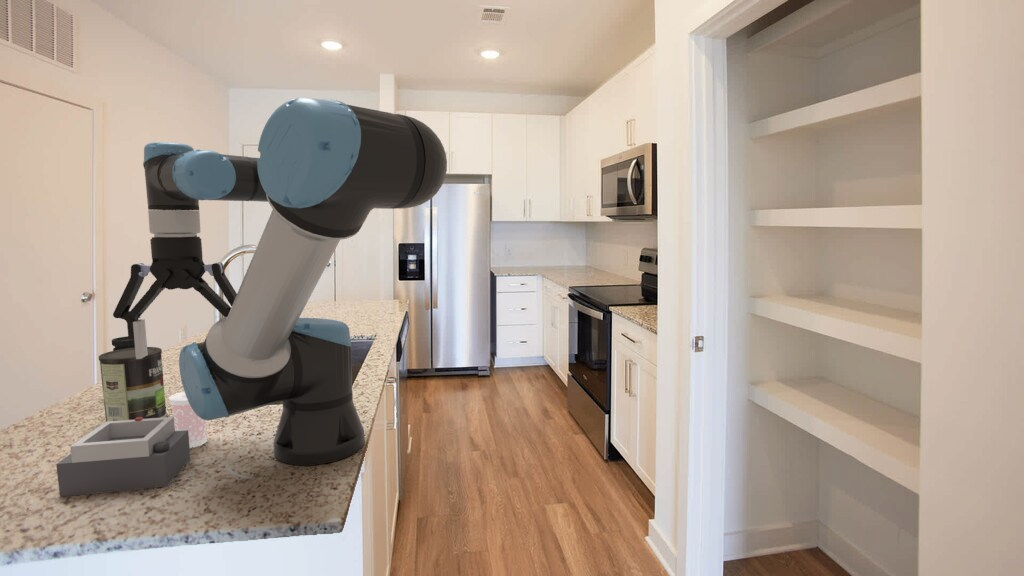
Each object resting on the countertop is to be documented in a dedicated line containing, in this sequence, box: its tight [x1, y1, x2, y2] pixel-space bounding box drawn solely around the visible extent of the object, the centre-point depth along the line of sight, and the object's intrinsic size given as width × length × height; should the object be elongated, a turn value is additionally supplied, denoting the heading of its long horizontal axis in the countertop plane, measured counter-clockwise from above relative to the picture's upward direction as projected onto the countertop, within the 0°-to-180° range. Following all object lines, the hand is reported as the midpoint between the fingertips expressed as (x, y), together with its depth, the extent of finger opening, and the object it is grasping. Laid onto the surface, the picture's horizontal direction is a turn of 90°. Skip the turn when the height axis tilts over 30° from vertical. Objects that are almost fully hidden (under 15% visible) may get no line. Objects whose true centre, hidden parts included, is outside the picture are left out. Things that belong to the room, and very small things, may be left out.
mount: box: [55, 416, 191, 498], centre depth 84 cm, size 14×10×8 cm
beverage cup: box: [168, 391, 208, 449], centre depth 97 cm, size 6×6×14 cm
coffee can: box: [98, 346, 168, 422], centre depth 108 cm, size 10×10×14 cm
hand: (184, 355), depth 96 cm, fingers open, 13 cm apart
